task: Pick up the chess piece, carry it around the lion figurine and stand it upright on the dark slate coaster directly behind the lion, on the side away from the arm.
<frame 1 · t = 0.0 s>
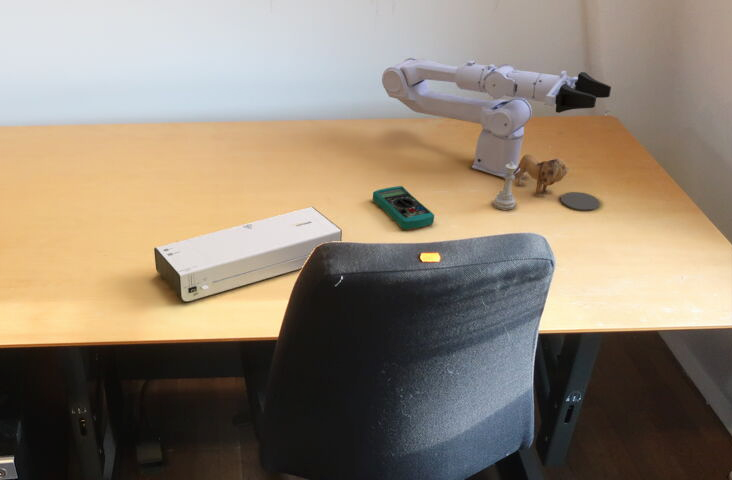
hand: (602, 97, 176), 22 cm above the table, tool horizontal, fingers open, 7 cm apart
coaster: (579, 202, 186), on the table
digital multimeter: (401, 213, 182), on the table
chess piece: (503, 206, 185), on the table
laminator: (251, 269, 164), on the table
lion figurine: (534, 189, 191), on the table, touching arm
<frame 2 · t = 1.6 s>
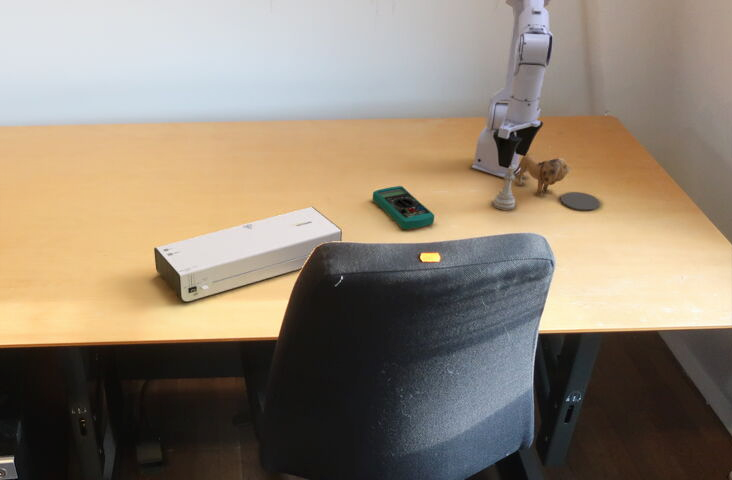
hand: (512, 160, 178), 10 cm above the table, tool pointing down, fingers open, 7 cm apart
nothing on the table moved.
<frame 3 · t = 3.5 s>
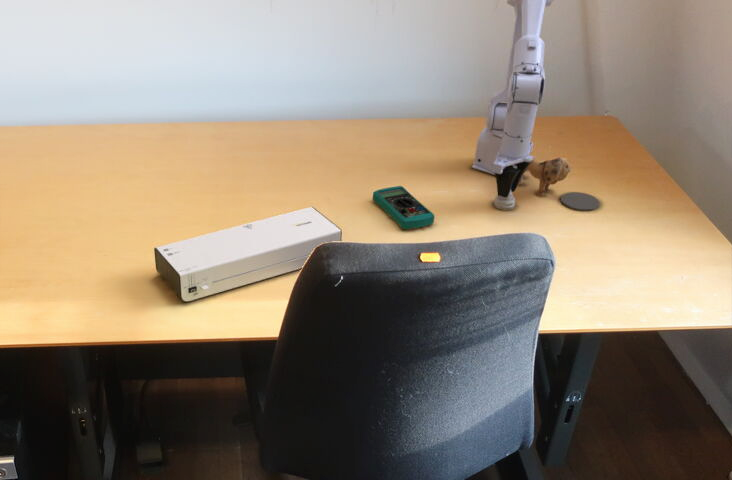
hand: (506, 193, 183), 3 cm above the table, tool pointing down, fingers closed on chess piece, 3 cm apart
chess piece: (503, 206, 185), on the table, touching gripper
everything else where it was.
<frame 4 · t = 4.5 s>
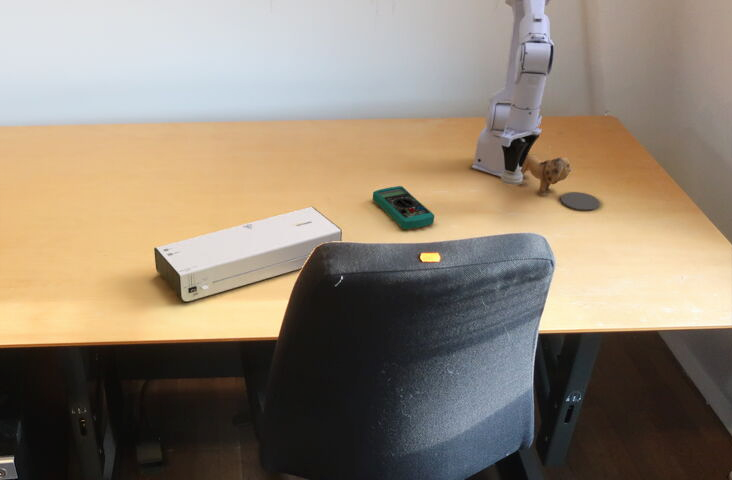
hand: (513, 167, 179), 9 cm above the table, tool pointing down, fingers closed on chess piece, 3 cm apart
chess piece: (511, 181, 181), point 6 cm above the table, touching gripper
everything else where it was.
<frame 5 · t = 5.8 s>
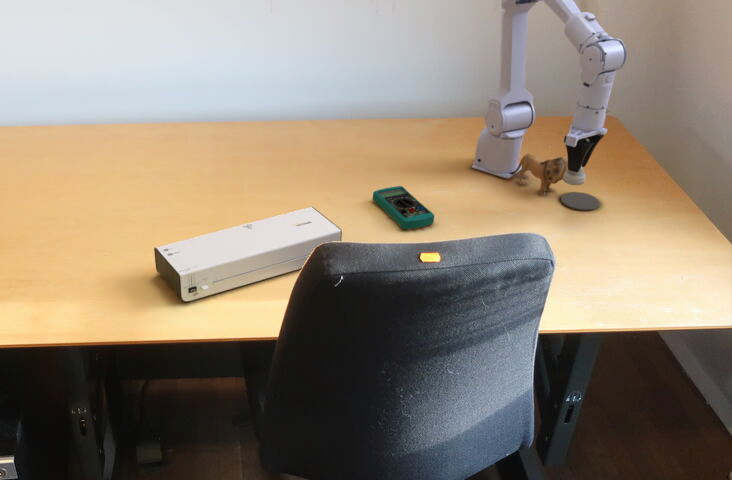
hand: (576, 168, 177), 10 cm above the table, tool pointing down, fingers closed on chess piece, 3 cm apart
chess piece: (573, 181, 178), point 7 cm above the table, touching gripper
everything else where it was.
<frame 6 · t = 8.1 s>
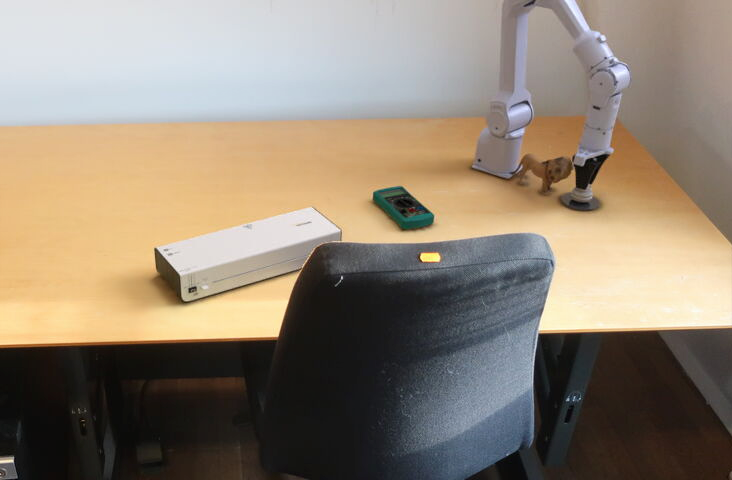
hand: (583, 185, 183), 4 cm above the table, tool pointing down, fingers closed on chess piece, 3 cm apart
chess piece: (580, 198, 185), point 1 cm above the table, touching gripper
when the fingers open (3 cm above the table, at t = 8.6 s): chess piece stays where it is, resting on coaster.
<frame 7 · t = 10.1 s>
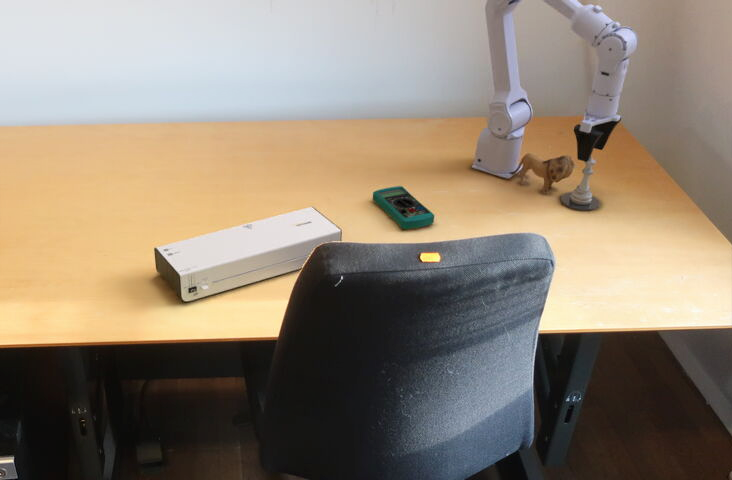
hand: (590, 154, 182), 10 cm above the table, tool pointing down, fingers open, 7 cm apart
chess piece: (580, 201, 186), resting on coaster, touching gripper
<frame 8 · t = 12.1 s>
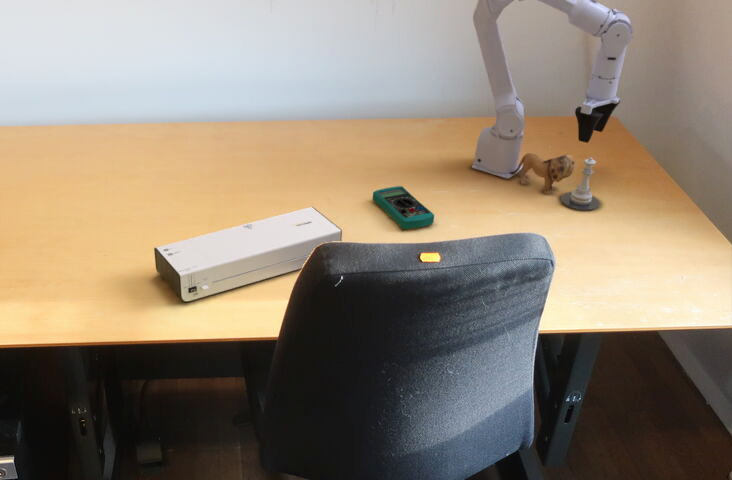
hand: (590, 135, 190), 10 cm above the table, tool pointing down, fingers open, 7 cm apart
chess piece: (580, 201, 186), resting on coaster
at the end: chess piece inside the target area on the table beside the lion figurine (2.1 cm from its centre), point 0.6 cm above the table; chess piece tilted 0°; chess piece touching coaster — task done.
